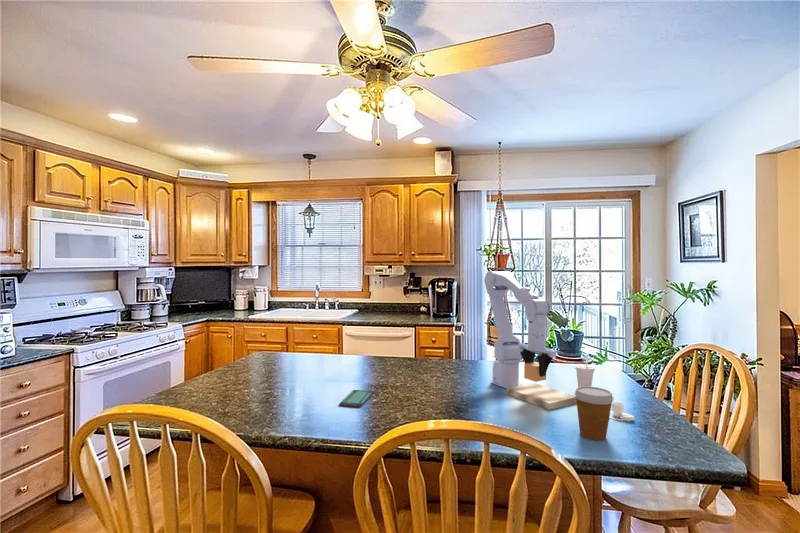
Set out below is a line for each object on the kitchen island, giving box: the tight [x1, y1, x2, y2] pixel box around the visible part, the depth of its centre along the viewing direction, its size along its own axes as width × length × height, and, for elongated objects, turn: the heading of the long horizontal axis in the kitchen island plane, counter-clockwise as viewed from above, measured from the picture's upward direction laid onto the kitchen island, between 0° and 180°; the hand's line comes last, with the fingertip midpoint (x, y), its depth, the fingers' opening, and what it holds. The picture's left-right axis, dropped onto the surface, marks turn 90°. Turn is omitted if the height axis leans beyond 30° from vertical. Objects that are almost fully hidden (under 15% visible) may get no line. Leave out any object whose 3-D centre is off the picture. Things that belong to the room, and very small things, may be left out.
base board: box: [506, 382, 577, 410], centre depth 141 cm, size 18×14×2 cm
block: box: [523, 361, 547, 383], centre depth 140 cm, size 5×5×5 cm
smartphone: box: [339, 389, 374, 409], centre depth 135 cm, size 7×1×15 cm
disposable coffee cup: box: [574, 386, 615, 441], centre depth 110 cm, size 10×10×12 cm
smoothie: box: [574, 354, 596, 388], centre depth 146 cm, size 6×6×14 cm
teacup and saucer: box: [609, 401, 635, 422], centre depth 125 cm, size 9×8×4 cm
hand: (535, 374), depth 140 cm, fingers closed on block, 5 cm apart
